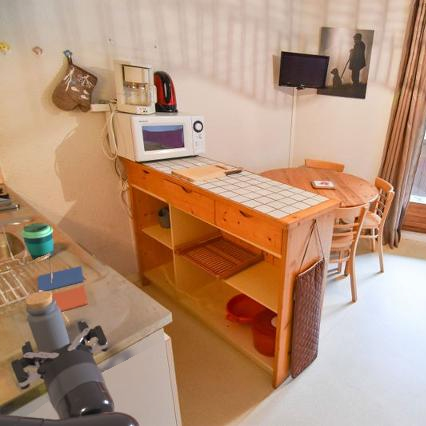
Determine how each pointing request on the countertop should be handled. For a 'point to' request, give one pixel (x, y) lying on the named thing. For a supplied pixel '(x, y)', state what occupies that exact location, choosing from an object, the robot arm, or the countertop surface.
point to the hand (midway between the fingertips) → (55, 334)
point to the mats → (62, 279)
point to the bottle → (46, 322)
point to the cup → (38, 239)
